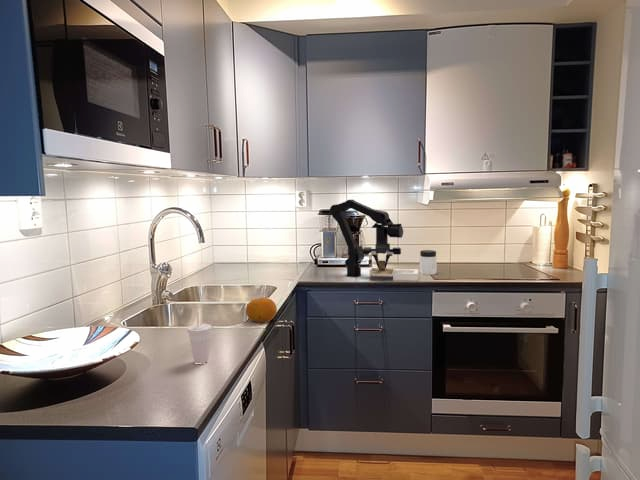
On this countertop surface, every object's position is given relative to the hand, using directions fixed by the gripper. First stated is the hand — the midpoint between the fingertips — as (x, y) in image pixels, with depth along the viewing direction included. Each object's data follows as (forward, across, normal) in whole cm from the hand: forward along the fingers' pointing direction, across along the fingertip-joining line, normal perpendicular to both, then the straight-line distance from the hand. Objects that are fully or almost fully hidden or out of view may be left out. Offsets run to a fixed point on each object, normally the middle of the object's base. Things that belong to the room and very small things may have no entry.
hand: (381, 267), depth 228 cm
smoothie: (+6, -39, -118) cm, 124 cm away
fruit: (+6, -36, -78) cm, 87 cm away
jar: (+6, +23, +18) cm, 30 cm away
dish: (+6, +12, +1) cm, 13 cm away
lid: (+2, 0, 0) cm, 2 cm away
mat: (+6, 0, 0) cm, 6 cm away
